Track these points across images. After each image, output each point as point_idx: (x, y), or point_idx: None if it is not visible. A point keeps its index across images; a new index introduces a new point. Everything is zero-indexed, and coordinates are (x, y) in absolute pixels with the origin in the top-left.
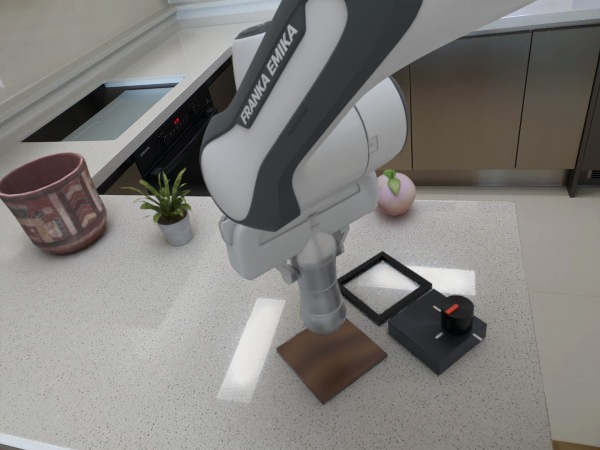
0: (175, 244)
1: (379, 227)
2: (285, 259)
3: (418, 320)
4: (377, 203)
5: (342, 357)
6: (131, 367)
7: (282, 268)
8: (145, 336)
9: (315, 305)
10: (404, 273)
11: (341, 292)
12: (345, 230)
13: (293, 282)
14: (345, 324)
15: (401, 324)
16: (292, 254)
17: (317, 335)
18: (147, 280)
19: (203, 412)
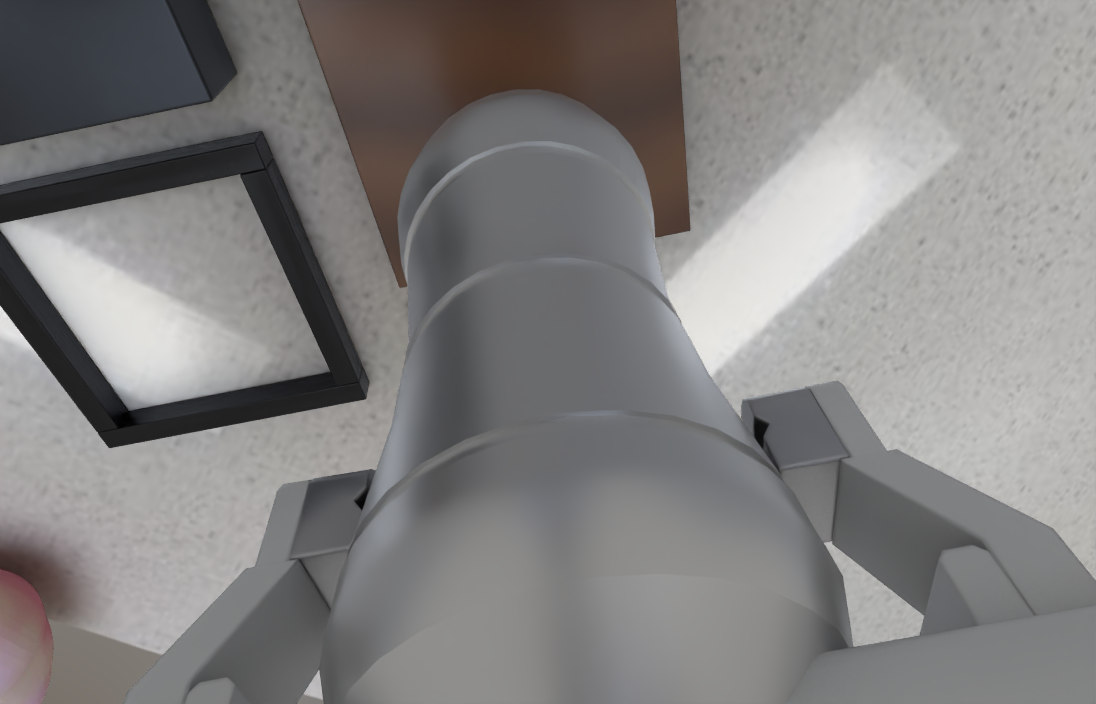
0: None
1: (88, 541)
2: (1088, 639)
3: (50, 19)
4: (47, 637)
5: (481, 54)
6: (1079, 380)
7: (997, 535)
8: (982, 459)
9: (622, 214)
10: (52, 318)
11: (347, 346)
12: (174, 696)
13: (797, 389)
14: (397, 202)
15: (150, 45)
16: (984, 673)
17: None
18: (864, 618)
19: (1031, 112)
